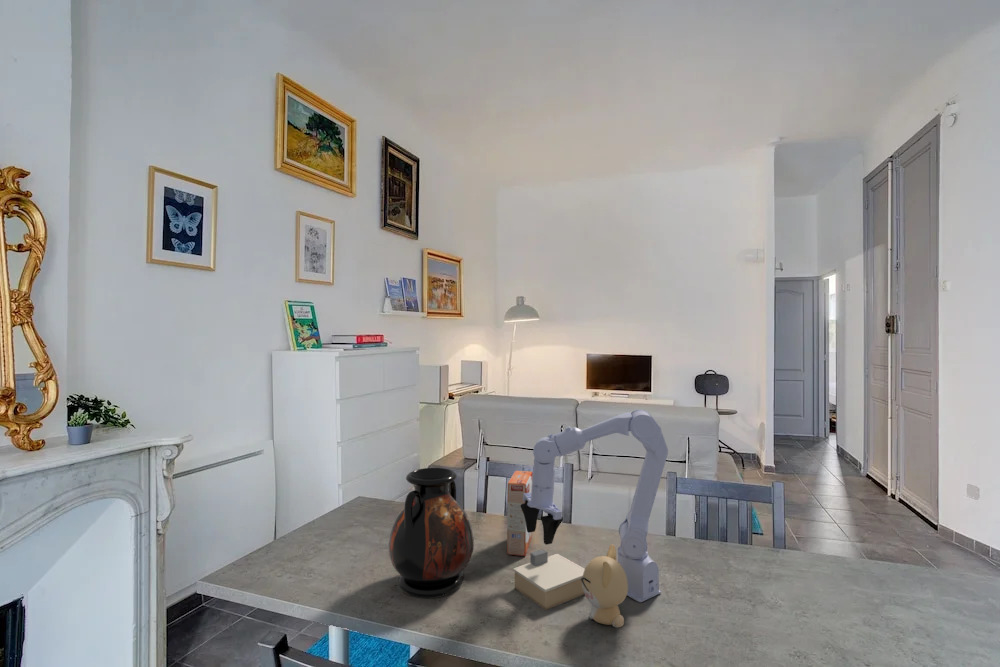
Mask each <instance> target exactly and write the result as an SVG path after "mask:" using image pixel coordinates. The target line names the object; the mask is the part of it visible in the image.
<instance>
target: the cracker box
mask: <svg viewBox="0 0 1000 667" xmlns="http://www.w3.org/2000/svg"><path fill="white" fill-rule="evenodd" d="M532 475H533V471H530V470H529V471H527V470H515V471H514V472H513V474H512V475H511V477H510V479H509V481H508V482H507V501H506V502H507V508H506V509H507V511H506V514H507V517H506V518H507V519H506V520H507V521H506V524H507V526H506V531H507V532H506V555H509V556H521V557H526V556H527V553H528V550H529V546H530V544H531V540H532V538H533V532H530V533H528V532H527V527H526V521H525V517H524V514H523V511H522V509H521V504H524V503H525V501H523V493H531V491H532Z"/></svg>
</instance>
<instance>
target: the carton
mask: <svg viewBox="0 0 1000 667" xmlns="http://www.w3.org/2000/svg"><path fill="white" fill-rule="evenodd" d="M514 589H515V590H516V591H518V592H520V593H521V595H523V596H525V597H526V598H528V599H529V600H530V601H531V602H533V603H535V604H536V605H537V604H538V606H539V607H540V608H542V609H543V610H544V609H545V611H548V610H550V609H552V608H554V606H555V607H557V606H559V604H560V605H562V604H565V603H567V602H570V601H572V600H574V599H576V597H577V598H579V597H581V595H582V596H583V594H584V591H583V586H582V581H581V579H579V580H576V581H574V582H571V583H569V584H566V585H563V586H561V587H558V588H556V589H553V590H550V591H548V592H544V591H543V590H541V589H540V588H538V587H537V586H535V585H534V584H532V583H531V582H529V581H528V580H526V579H525V578H523V577H522V576H520V575H519V574H517V573H516V572H514ZM584 595H585V594H584ZM578 596H579V597H578ZM566 601H567V602H566ZM564 602H565V603H564ZM561 603H562V604H561Z"/></svg>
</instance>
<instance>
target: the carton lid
mask: <svg viewBox="0 0 1000 667" xmlns="http://www.w3.org/2000/svg"><path fill="white" fill-rule="evenodd" d="M548 553H549V552H548V551H547V550H545V549H543V548H542V549H540V550H536V551H533V552H530V554H529V555H530V562H528V563H525V564H522V565H519V566H516V567H514V568H512V571H513V572H514V573H515V572H516V573H517V574H519V575H520V576H522V577H523V578H525V579H526V580H528V581H529V582H531V583H532V584H534V585H535V586H537V587H538V588H540V589H541V590H543V591H544V592H548V591H550V590H553V589H556V588H558V587H561V586H563V585H566V584H569V583H571V582H574V581H576V580H579V579H581V578H583V573H584V570H585V568H584V567H583V566H580V565H579V564H577V563H576V562H573V561H572V560H569V558H566V557H564V556H562V555H561V554H559V553H555V554H552V555H548Z"/></svg>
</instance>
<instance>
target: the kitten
mask: <svg viewBox="0 0 1000 667" xmlns="http://www.w3.org/2000/svg"><path fill="white" fill-rule="evenodd" d="M584 569H585V570H584V573H583V578H581V581H582V586H583V591H584V595H585V598H586V599H587V601H588V602H589V604H590V605H591V606H590V609H589V613H588V617H589V619H590V620H594V621H595V622H596V623H599V624H601V625H605V626H606V625H607V626H608V625H609V626H610V625H612V626H613V627H614V628H621V627H623V626H624V624H625V619H624V616H623V615H621V610H620V608H619V605H621V604H622V603H623V602H624V600H625V599H626V598H627V592H628V581H627V577H626V574H625V571H624V569H623V568H622V566H621V565H620V564H619V563H618V560H617V552H616V546H615V544H614V543H613V544H612V543H611V544H610V545H609V547H608V550H607V553H606V555H601V556H596V557H594V558H593V559H591V560H590V561H589V562H588V563H587V565H586V566H585V568H584Z"/></svg>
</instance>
